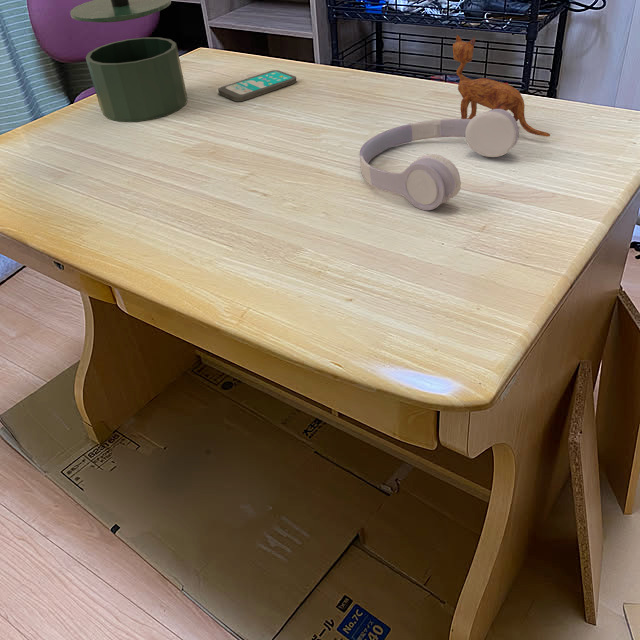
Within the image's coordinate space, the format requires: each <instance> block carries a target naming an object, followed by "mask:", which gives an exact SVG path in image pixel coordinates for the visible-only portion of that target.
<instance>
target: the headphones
mask: <svg viewBox="0 0 640 640" xmlns="http://www.w3.org/2000/svg"><path fill="white" fill-rule="evenodd" d="M513 116H514V115H513V114H512V113H511V112H510V111H508V110H507V111H506V110H503V109H489V110H488V111H484V112H481V113H478V114H476V116H475V117H473V118H472V119H461V118H444V119H430V120H424V121H418V122H413V123H407V124H403V125H399V126H396V127H392V128H390V129H387V130H385V131H382V132H380V133H377V134H376V135H374V136H372V137H370V138H369V139H368V140H367V141H365V142H364V144H362V146H361V147H360V149H359V154H358V156H359V164H360V170H361V175H362V177H363V179H364V180H365V181H366V182H367V183H368V184H369V185H370V186H373V187H375V188H376V189H379V190H382V191H385V192H389V193H394V194H396V195H400V196H401V197H403V198H405V199H406V200H407V201H408V202H409V203H410V204H411V205H412V206H414V207H415V208H417V209H420V210H422V211H432V210H434V209H437V208H438V207H439V206H441V205H443V204H445V203H446V202H448V201H449V200H450V199H453V198H454V197H456V196H457V195H458V194H459V193H460V191H461V190H462V189H461V188H462V187H461V185H462V181H461V175H460V172H459V169H458V168H457V166H456V165H455V164H454V163H453V162H452V161H451V160H450V159H448V158H447V157H444V156H442V155H439V154H435V153H427V154H424V155H421V156H419V157H418V158H416V160H414V161H413V162H411V163H410V164H409V165H408V167H406V168H405V170H403V171H401V172H389V171H386V170H382V169H379V168H376V167H374V166H372V165H370V164H369V163H370V161H372V159H374V158H375V157H376V156H378V155H380V154H381V153H383V152H384V151H386V150H388V149H390V148H393V147H396V146H400V145H405V144H408V143H409V144H410V143H412V142H416V141H422V140H429V139H438V138H440V139H441V138H465V142H466V145H468V147H469V148H470V149H471V150H472V151H473V152H475V153H476V154H478V155H480V156H482V157H487V158H498V157H502V156H504V155H506V154H508V153H509V152H510V151H511V150H512V149H513V148H514V147H515V146H516V144H517V142H518V140H519V135H520V130H519V124H518V121H517V122H516V120H515V118H514V117H513Z"/></svg>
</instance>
